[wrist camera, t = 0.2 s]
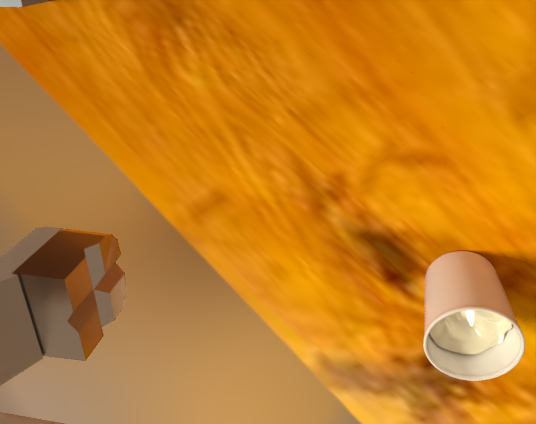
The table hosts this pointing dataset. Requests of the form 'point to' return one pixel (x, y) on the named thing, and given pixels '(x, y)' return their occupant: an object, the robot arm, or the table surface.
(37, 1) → the block
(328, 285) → the table surface
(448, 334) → the candle holder
